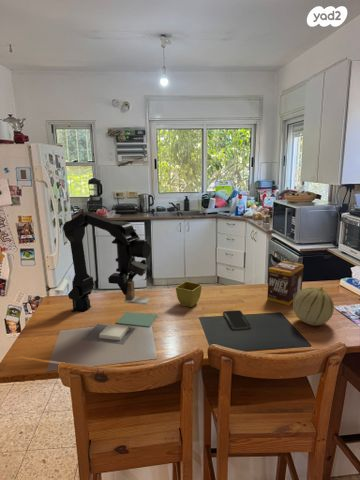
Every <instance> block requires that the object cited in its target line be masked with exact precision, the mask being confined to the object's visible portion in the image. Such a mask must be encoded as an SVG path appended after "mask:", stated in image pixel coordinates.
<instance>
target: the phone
mask: <svg viewBox="0 0 360 480" xmlns="http://www.w3.org/2000/svg"><path fill="white" fill-rule="evenodd" d="M222 315H223V316H224V319H225V318H226V319H225V320H226V322H227V323H228V325H229V327H230V329H231V330H232V331H239V330H250V329H252V325H251V324H250V322H249V320H248V319H247V318H246V316H245V315H244V313H243V312H242V311H241V310H240V309H239V310H225V311H223V312H222Z"/></svg>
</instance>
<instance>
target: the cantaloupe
mask: <svg viewBox="0 0 360 480" xmlns="http://www.w3.org/2000/svg"><path fill="white" fill-rule="evenodd" d="M292 307H293V311H294V315H295V316H296V317H297V319H299V320H300V321H301V322H303V323H305V324H307V325H310V326H321V325H324V324H326V323H328V321H329V320H330V319H331V318H332V316H333V314H334V310H335V304H334V301H333V299H332V297H331V295H330V294H329V293H328V292H327V291H325V290H324V289H323V286H320V287H317V286H307V287H304V288H302V290H300V291H299V292H298V293H297V294H296V296H295V298H294V301H293V302H292Z"/></svg>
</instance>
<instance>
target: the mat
mask: <svg viewBox="0 0 360 480" xmlns="http://www.w3.org/2000/svg"><path fill="white" fill-rule="evenodd" d="M108 325H109V324H99V323H97V324H96V325H95V326H94V327H93V328H91V330H89V331H88V333H87V334H86V335H85V336H84V337H83V338H82V339H81V340H84V341H90V342H91V341H92V342H99V343H101V342H102V343H106V344H107V343H108V344H116V345H124V344H125V343H126V341H127V340H128V339H129V338H130V337H131V335H132V334H133V333H134V331H135V330H136V329H137V328H136V327H129V326H128V328H129V330H128V331H127V332H126V333H125V335H124V336H123V337H122V338H121V340H111V339H103V338H99V334H100V333H101V332H102V331H103V330H104V329H105V328H106V327H107V326H108Z"/></svg>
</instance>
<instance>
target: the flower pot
mask: <svg viewBox="0 0 360 480" xmlns="http://www.w3.org/2000/svg"><path fill="white" fill-rule="evenodd" d="M202 286H203V285H202V284H200V283H197V282H196V283H195V282H191V281H184V282H182V283H181V284H179V285H177V286H176V287H175V292H176V297H177V300H178V303H179V304H181V306H184V307H188V308H192V307H193V306H195V305H196V304H197V303H198V302H199V299H200V298H201V293H202Z"/></svg>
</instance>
